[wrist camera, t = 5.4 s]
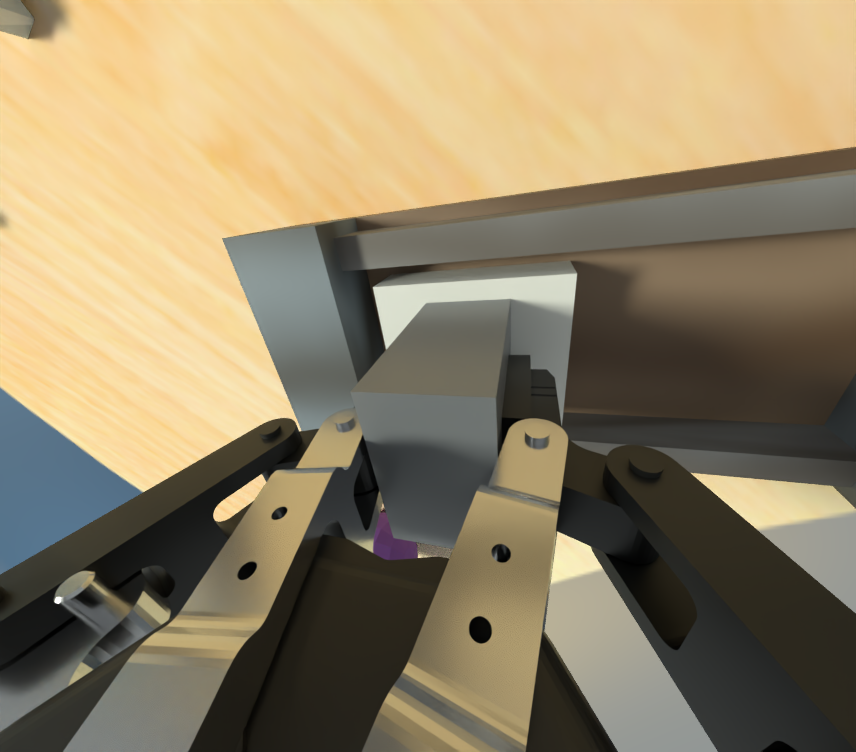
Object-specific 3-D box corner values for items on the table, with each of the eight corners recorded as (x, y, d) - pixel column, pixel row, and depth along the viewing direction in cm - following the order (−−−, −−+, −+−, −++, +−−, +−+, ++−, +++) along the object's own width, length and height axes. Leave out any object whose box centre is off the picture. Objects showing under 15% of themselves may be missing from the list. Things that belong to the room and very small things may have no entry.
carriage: (391, 274, 13) (261, 361, 7) (569, 260, 11) (628, 365, 5) (414, 398, 17) (338, 540, 10) (557, 405, 15) (582, 588, 8)
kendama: (210, 546, 29) (368, 560, 19) (264, 502, 34) (412, 494, 24) (242, 595, 31) (406, 631, 21) (289, 545, 36) (440, 555, 26)
